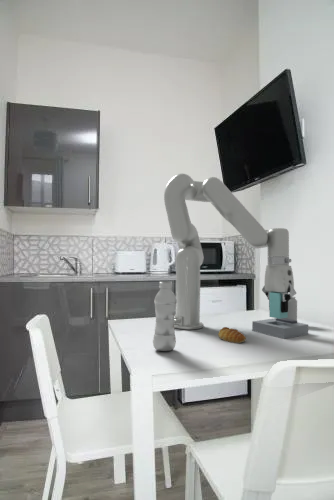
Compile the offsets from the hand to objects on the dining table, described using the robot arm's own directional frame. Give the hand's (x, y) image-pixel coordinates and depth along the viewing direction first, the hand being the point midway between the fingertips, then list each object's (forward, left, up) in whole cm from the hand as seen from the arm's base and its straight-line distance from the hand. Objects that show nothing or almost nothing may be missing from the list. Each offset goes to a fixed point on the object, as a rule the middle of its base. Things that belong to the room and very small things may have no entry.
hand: (278, 310), depth 120 cm
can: (+15, +7, -8) cm, 19 cm away
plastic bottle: (-49, +2, -8) cm, 49 cm away
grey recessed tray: (+1, 0, -8) cm, 8 cm away
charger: (0, 0, -2) cm, 2 cm away
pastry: (-22, +2, -9) cm, 24 cm away
